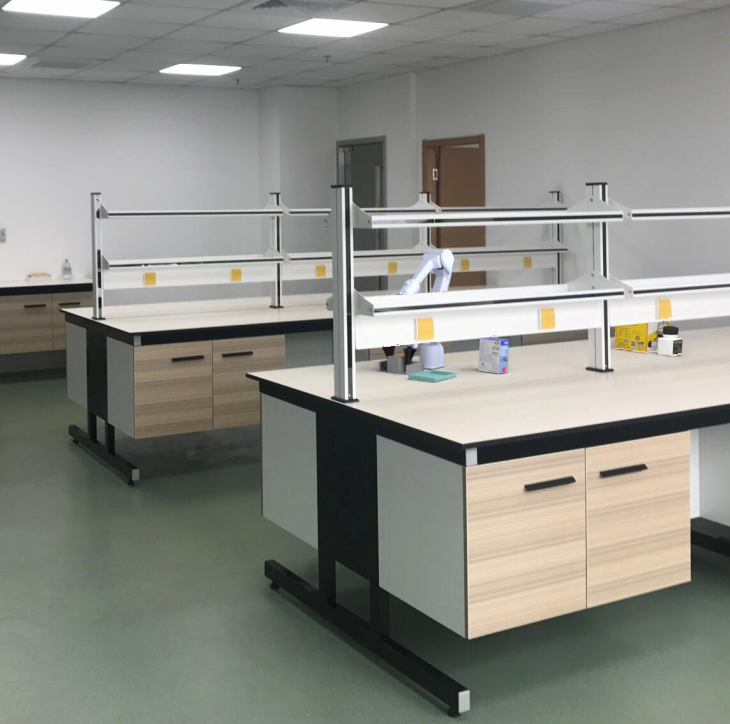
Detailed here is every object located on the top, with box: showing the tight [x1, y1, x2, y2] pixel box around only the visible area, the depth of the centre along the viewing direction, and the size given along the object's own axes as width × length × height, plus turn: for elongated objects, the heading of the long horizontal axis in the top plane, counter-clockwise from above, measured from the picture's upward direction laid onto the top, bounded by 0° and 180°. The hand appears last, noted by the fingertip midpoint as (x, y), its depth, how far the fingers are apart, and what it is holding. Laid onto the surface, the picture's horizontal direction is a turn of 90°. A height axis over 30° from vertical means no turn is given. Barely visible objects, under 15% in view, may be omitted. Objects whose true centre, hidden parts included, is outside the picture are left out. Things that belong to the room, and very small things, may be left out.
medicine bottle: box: [656, 325, 683, 354], centre depth 393 cm, size 7×7×12 cm
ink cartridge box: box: [477, 336, 510, 375], centre depth 351 cm, size 10×6×14 cm, turn 46°
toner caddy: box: [386, 353, 406, 375], centre depth 351 cm, size 8×5×7 cm, turn 143°
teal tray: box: [408, 369, 457, 383], centre depth 338 cm, size 14×11×2 cm
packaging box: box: [613, 320, 672, 352], centre depth 408 cm, size 16×16×25 cm
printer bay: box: [377, 359, 425, 376], centre depth 352 cm, size 10×14×4 cm
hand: (399, 366), depth 351 cm, fingers open, 7 cm apart
